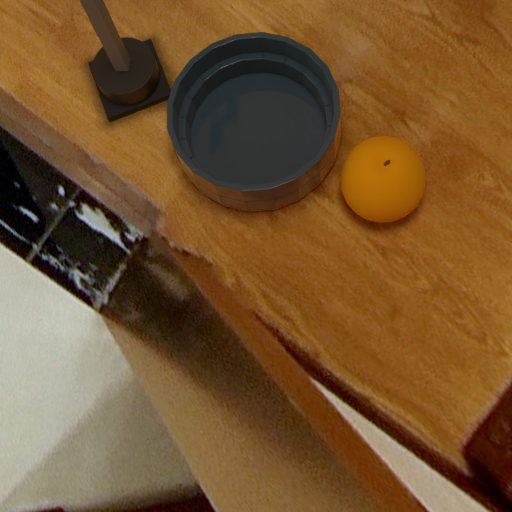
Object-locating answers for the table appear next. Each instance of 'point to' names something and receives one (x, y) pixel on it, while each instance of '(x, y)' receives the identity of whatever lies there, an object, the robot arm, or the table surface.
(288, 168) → the bowl
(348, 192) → the orange
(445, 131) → the table surface
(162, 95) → the pad
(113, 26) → the square post on disc
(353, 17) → the table surface
